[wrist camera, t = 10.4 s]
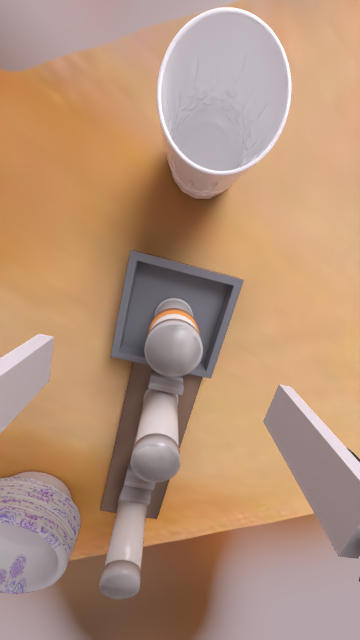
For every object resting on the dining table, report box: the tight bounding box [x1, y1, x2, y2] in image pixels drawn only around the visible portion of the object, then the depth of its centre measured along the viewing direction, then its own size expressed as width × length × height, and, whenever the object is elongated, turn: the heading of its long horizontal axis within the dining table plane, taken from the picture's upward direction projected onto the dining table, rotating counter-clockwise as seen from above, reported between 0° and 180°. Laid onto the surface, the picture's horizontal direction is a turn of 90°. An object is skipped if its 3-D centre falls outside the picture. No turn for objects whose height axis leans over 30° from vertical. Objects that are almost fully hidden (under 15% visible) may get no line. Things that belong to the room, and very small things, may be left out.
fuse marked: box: [144, 297, 203, 377], centre depth 22 cm, size 4×4×10 cm
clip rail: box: [101, 362, 202, 519], centre depth 31 cm, size 9×27×4 cm, turn 166°
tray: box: [111, 250, 244, 378], centre depth 26 cm, size 12×12×2 cm
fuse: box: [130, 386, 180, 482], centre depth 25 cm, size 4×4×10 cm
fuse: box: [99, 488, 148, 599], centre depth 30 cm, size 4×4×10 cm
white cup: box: [157, 7, 291, 199], centre depth 18 cm, size 8×8×10 cm
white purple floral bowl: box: [0, 471, 81, 594], centre depth 31 cm, size 15×15×8 cm
